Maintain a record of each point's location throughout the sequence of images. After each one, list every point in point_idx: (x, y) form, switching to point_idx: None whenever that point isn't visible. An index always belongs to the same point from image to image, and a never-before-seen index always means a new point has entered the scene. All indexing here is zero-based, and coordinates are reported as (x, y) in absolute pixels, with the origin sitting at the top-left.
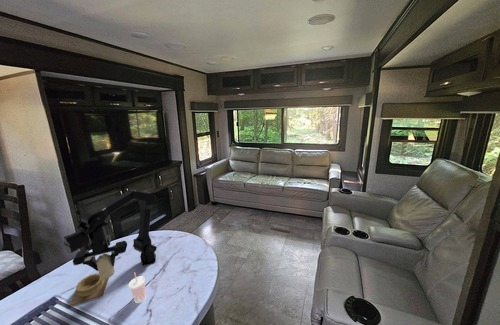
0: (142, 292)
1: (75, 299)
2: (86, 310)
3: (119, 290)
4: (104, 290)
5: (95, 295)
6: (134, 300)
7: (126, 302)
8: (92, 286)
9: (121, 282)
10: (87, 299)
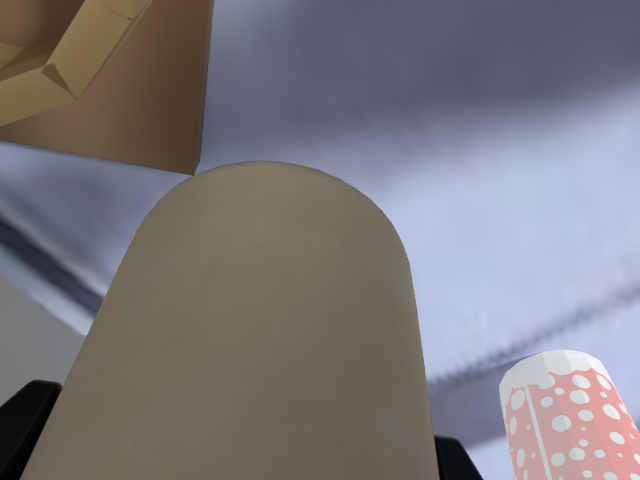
0: None
1: None
2: (68, 251)
3: (389, 181)
4: (205, 79)
5: (107, 139)
6: (501, 400)
7: (432, 362)
8: (16, 93)
9: (432, 43)
10: (20, 140)
